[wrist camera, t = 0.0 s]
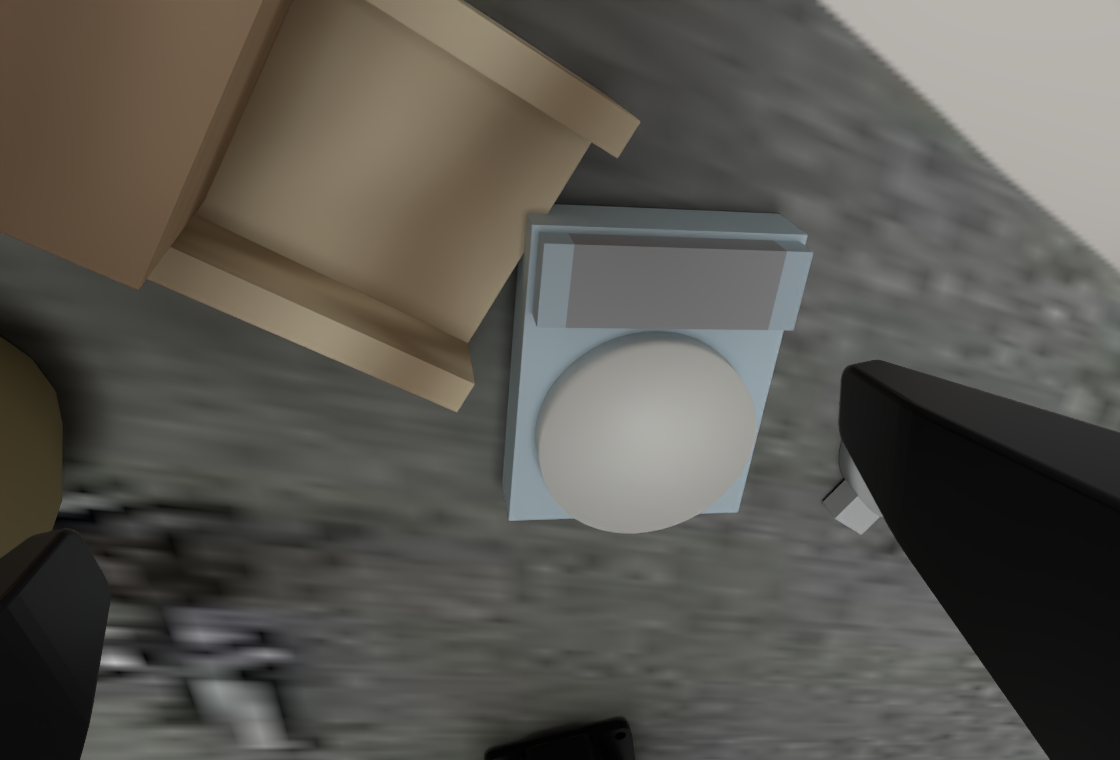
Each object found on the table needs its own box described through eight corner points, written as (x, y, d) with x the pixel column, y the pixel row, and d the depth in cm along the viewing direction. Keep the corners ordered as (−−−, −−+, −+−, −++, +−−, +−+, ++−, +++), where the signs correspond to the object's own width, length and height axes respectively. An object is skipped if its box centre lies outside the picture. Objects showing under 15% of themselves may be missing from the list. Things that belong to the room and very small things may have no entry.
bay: (607, 95, 22) (652, 130, 18) (450, 354, 25) (459, 431, 21) (-51, -341, 16) (-200, -432, 12) (-155, 75, 19) (-300, 113, 15)
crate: (302, -23, 18) (264, -5, 13) (204, 200, 20) (138, 290, 15) (18, -199, 16) (-163, -261, 11) (-62, 72, 18) (-246, 127, 13)
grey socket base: (718, 478, 29) (748, 530, 27) (502, 484, 28) (512, 541, 25) (779, 213, 24) (823, 246, 22) (522, 202, 23) (537, 237, 20)
